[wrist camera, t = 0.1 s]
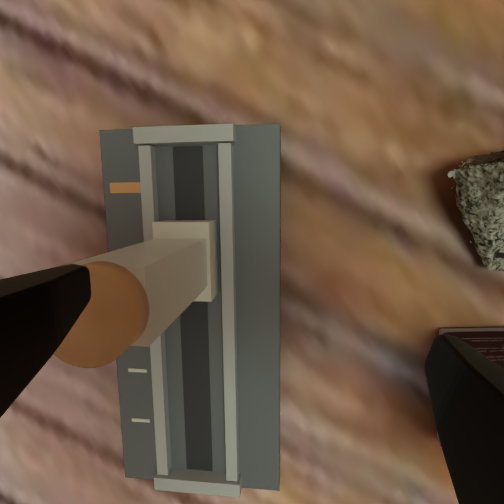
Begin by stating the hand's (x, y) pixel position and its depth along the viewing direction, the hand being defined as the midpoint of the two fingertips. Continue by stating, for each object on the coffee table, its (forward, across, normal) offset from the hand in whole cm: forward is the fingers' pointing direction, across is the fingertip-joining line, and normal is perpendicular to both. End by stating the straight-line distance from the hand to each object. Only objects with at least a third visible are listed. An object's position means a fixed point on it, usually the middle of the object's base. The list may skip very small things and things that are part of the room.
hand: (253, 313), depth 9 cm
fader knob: (+13, +6, +5) cm, 15 cm away
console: (+13, +5, +10) cm, 17 cm away
